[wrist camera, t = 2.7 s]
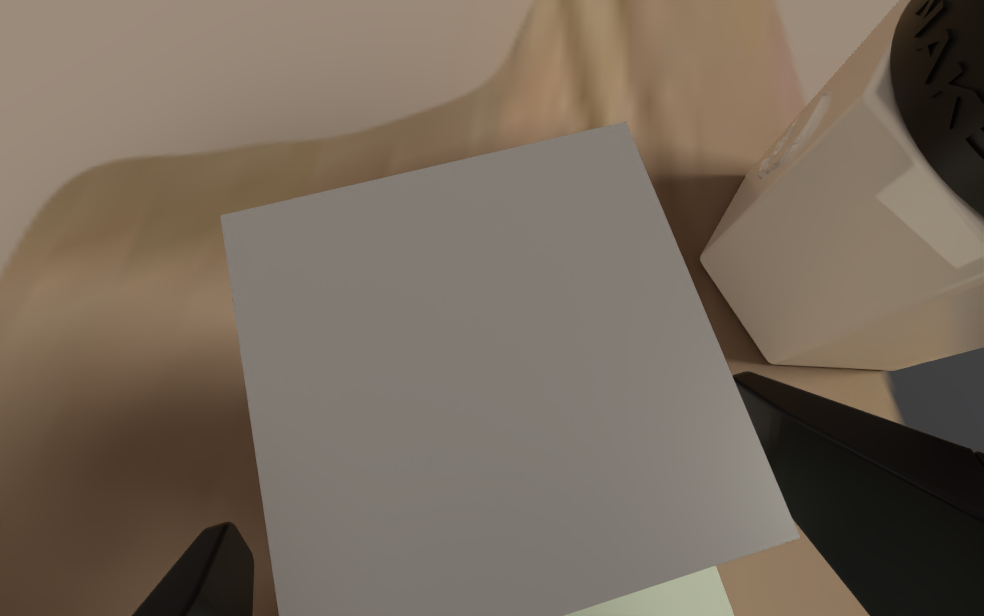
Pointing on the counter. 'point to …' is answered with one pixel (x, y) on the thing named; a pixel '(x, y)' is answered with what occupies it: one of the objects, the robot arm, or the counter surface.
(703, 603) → the socket
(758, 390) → the robot arm
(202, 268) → the counter surface
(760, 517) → the plug
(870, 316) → the jar
